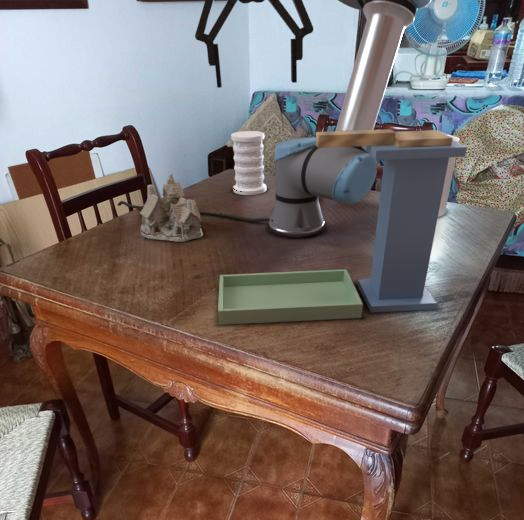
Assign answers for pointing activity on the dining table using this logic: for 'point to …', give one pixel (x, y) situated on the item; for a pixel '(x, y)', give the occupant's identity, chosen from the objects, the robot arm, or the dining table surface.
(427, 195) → the stand
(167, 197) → the ceramic cottage
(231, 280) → the tray
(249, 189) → the decorative container
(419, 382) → the dining table surface
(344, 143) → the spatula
